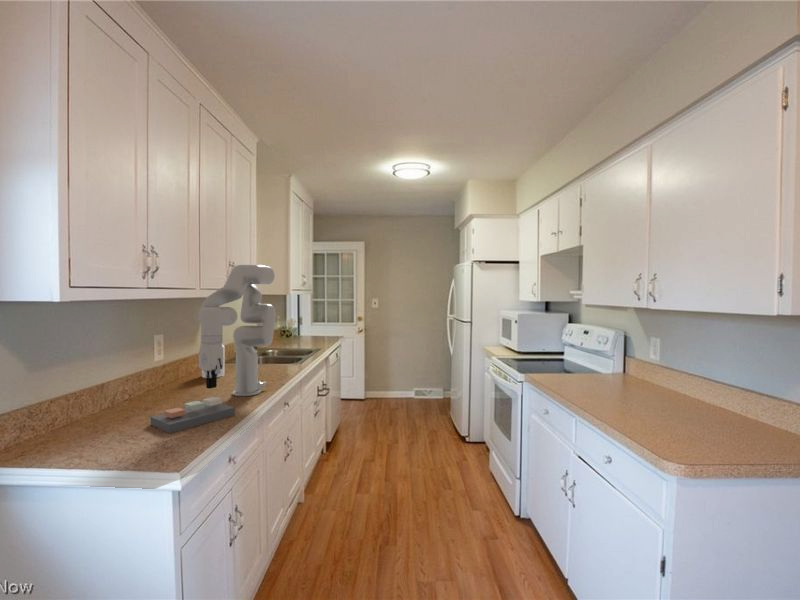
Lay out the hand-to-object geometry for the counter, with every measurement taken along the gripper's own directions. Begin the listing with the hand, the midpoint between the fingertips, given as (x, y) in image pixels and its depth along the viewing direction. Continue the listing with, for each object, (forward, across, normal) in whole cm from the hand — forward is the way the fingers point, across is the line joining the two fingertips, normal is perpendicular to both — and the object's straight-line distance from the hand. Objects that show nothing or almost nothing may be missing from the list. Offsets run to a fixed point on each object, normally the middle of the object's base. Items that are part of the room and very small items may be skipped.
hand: (211, 387), depth 152 cm
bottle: (+9, -66, +39) cm, 78 cm away
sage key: (+7, 0, -6) cm, 9 cm away
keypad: (+11, 0, -6) cm, 13 cm away
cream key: (+6, 0, +1) cm, 6 cm away
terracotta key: (+8, 0, -13) cm, 15 cm away
